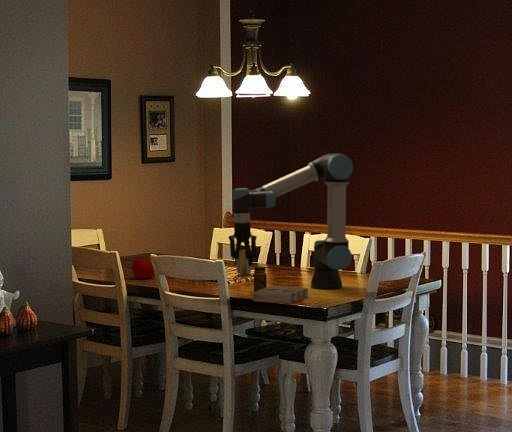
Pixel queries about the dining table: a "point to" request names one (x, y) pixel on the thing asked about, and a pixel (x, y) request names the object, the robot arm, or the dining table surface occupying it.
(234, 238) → the robot arm
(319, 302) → the dining table surface
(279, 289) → the jig
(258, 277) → the condiment
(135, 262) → the tomato
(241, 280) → the dining table surface
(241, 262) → the bushing
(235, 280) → the dining table surface
